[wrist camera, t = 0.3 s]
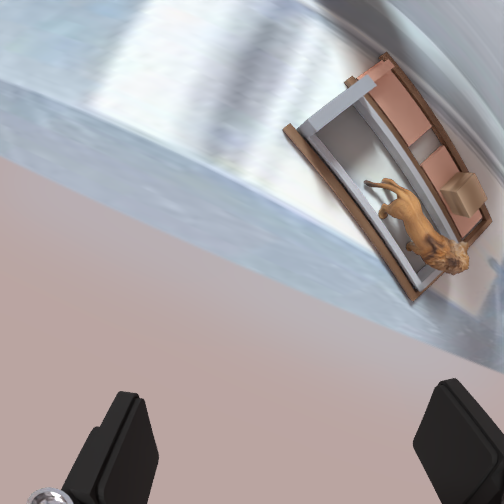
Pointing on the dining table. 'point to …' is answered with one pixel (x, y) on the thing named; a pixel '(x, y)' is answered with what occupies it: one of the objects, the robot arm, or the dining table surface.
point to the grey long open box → (356, 98)
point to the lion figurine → (423, 231)
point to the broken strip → (415, 133)
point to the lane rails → (444, 140)
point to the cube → (463, 194)
